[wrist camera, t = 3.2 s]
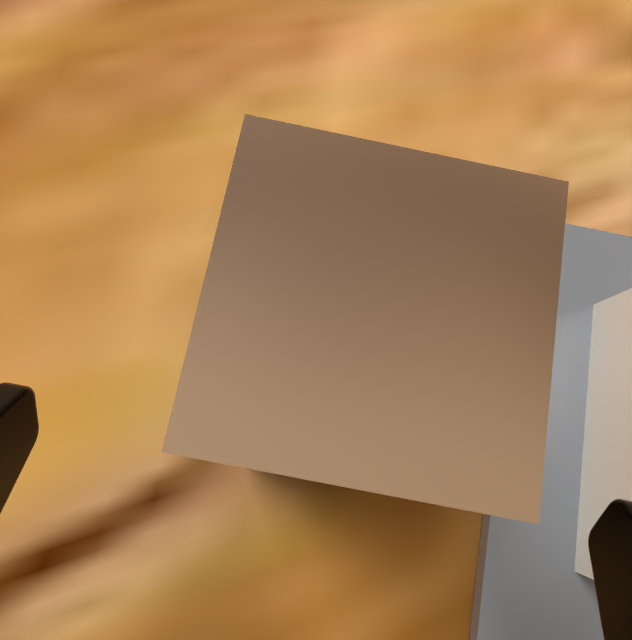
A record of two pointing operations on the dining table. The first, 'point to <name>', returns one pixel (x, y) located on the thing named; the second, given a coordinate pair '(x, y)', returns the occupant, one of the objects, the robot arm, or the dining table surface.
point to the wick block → (377, 322)
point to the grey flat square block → (569, 458)
